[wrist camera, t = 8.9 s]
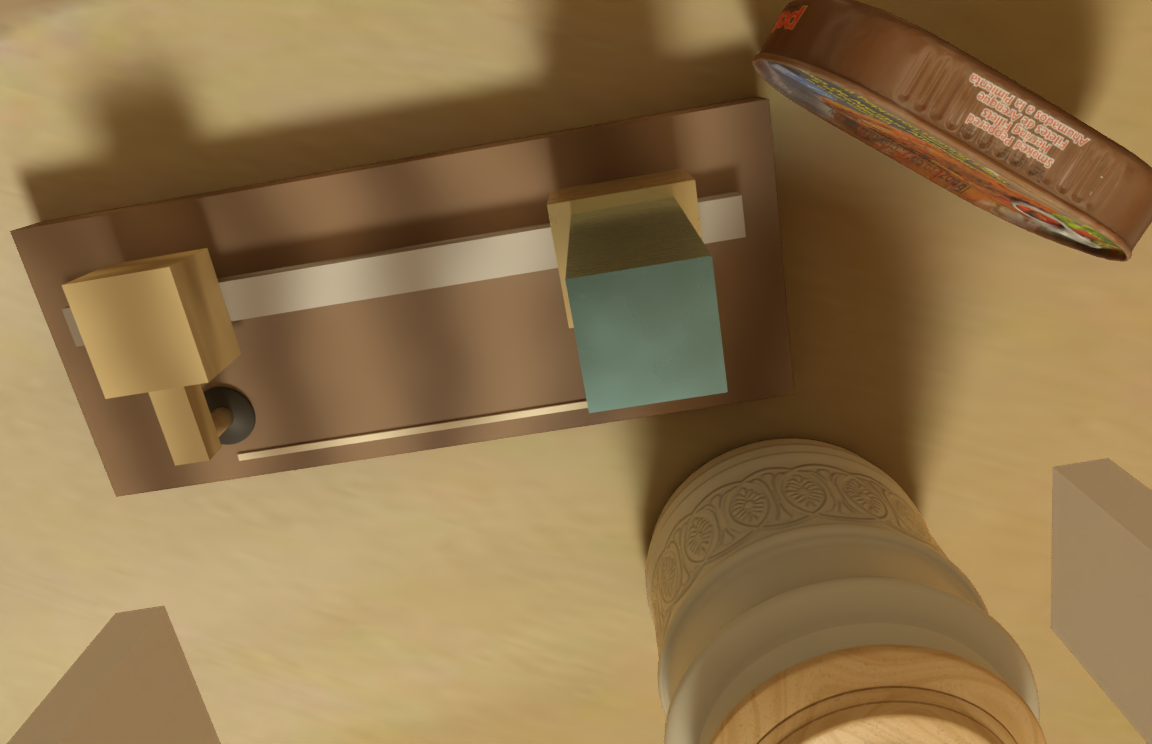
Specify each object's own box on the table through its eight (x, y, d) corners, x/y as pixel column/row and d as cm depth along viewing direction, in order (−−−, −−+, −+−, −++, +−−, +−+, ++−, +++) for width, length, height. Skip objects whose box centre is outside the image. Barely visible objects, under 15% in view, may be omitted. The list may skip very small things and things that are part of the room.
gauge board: (138, 475, 40) (61, 547, 34) (40, 222, 36) (-66, 253, 30) (784, 377, 38) (820, 435, 32) (758, 96, 34) (794, 104, 28)
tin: (730, 66, 33) (775, 69, 25) (773, -12, 32) (834, -34, 24) (1040, 243, 36) (1169, 296, 28) (1088, 175, 35) (1237, 210, 27)
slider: (584, 375, 35) (583, 545, 23) (551, 187, 32) (530, 266, 20) (705, 356, 35) (771, 518, 22) (682, 165, 32) (741, 231, 20)
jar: (622, 455, 39) (649, 747, 23) (907, 407, 38) (1155, 676, 22) (665, 682, 44) (714, 1065, 27) (922, 644, 43) (1137, 1017, 26)
